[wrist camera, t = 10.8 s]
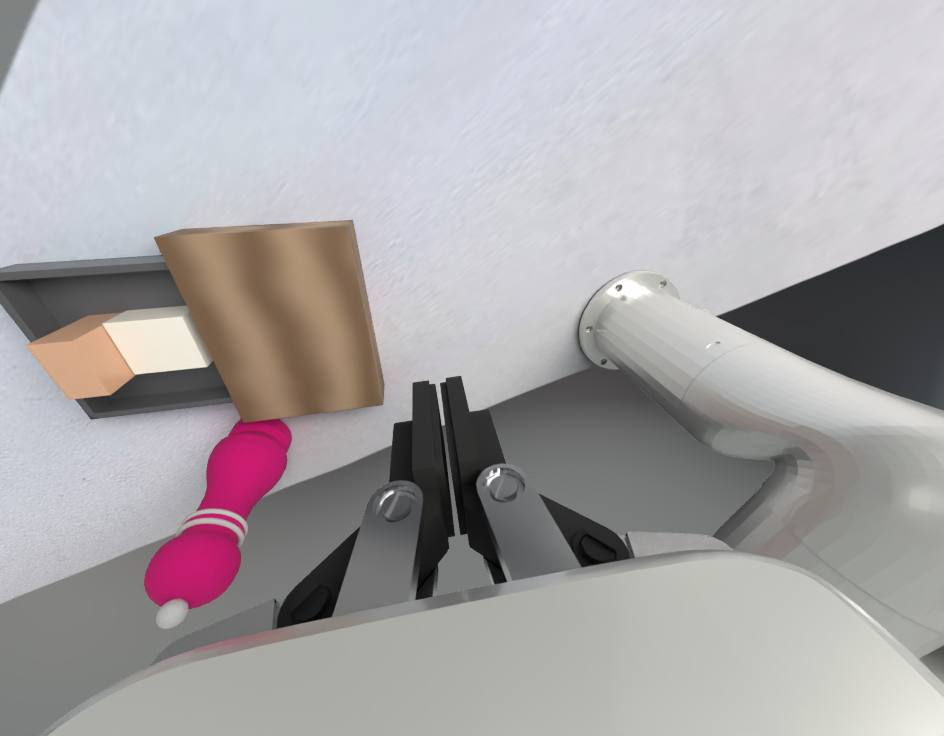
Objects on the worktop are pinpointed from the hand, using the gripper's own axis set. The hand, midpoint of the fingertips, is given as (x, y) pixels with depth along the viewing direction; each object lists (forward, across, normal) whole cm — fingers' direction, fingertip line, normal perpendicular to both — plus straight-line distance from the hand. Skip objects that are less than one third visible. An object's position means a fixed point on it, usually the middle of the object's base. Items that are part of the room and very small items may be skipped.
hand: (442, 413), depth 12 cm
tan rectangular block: (+21, +27, +4) cm, 34 cm away
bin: (+24, +27, +4) cm, 37 cm away
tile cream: (+24, +24, +4) cm, 34 cm away
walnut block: (+25, +13, +5) cm, 29 cm away
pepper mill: (+25, +22, +18) cm, 38 cm away
